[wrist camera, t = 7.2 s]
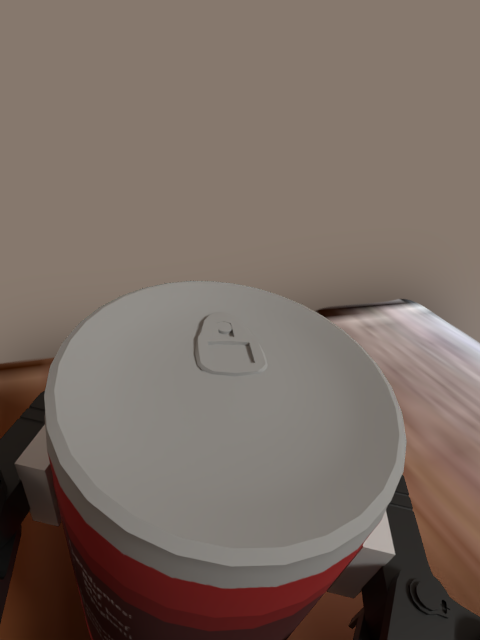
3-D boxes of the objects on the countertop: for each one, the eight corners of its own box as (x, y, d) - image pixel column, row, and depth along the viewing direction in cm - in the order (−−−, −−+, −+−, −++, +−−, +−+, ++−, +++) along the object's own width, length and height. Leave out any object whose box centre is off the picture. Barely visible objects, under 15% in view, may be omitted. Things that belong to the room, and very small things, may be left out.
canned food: (233, 456, 18) (282, 270, 12) (325, 637, 13) (499, 462, 7) (74, 510, 15) (33, 288, 9) (105, 792, 9) (52, 718, 3)
